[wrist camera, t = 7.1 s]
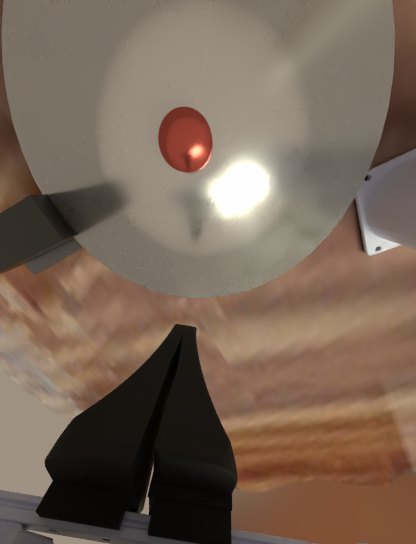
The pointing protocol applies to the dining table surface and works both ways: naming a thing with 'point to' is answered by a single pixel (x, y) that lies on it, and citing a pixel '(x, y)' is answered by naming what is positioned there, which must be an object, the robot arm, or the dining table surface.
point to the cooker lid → (192, 131)
